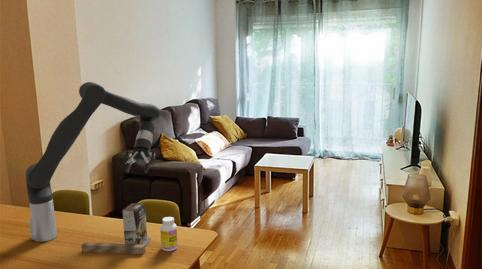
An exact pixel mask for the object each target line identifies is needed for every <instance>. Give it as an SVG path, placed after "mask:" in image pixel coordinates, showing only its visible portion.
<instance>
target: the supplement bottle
mask: <svg viewBox="0 0 482 269" xmlns="http://www.w3.org/2000/svg"><path fill="white" fill-rule="evenodd" d="M159 229H160V246H161V250H162V251H165V252H172V251H173V252H174V250H177V248H178V226H177V224H176V223H175V218H174V216H165V217H162V224H161V225H160V228H159Z"/></svg>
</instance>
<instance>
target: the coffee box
mask: <svg viewBox="0 0 482 269" xmlns="http://www.w3.org/2000/svg"><path fill="white" fill-rule="evenodd" d="M146 212H147V211H146V203H141V202H137V203H136V202H135V203H134V202H131V203H130V204H129V205H127V206H126V207H125V208H123V209H122V220H123V221H122V223H123V237H124V244H139V245H142V243H143V242H144V241H145V240H146V239H147V238H148V229H147V228H148V227H147V226H148V225H147V215H146V214H147V213H146Z"/></svg>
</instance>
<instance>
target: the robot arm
mask: <svg viewBox="0 0 482 269" xmlns="http://www.w3.org/2000/svg"><path fill="white" fill-rule="evenodd" d="M78 94H79V97H80V98H81V100H80V102H79V103H78V104H77V106H76V108H75V109H73V111H71V112H70V113H69V114H68V115H67V116H66V117H64V119H62V120H61V121H60V122H59V124H58V126H56V128H55V130H54V132H53V133H52V135H51V136H50V139H49V141H48V143H47V145H46V146H47V147H46V148H45V151H44V153H43V155H42V156H41V158H40V159H39V161H38V162H37V163H33V164H31V165H30V166H29V167H27V169H26V171H25V182H26V189H27V190H26V191H27V196H28V203H29V212H30V218H29V221H28V222H29V230H30V238H31V240H32V241H35V242H37V243H40V242H41V243H43V242H49V241H51V240H53V239H55V238H56V237H57V235H58V234H57V232H58V231H57V225H56V216H55V205H54V197H53V191H52V185H51V180H52V178H53V176H54V174H55V172H56V170H57V168H58V167H59V164H60V162H61V161H62V160H63V159H64V158H65V156H66V155H67V153H68V152H69V150H70V149H71V148H72V147H73V145H74V143H75V142H76V140H77V139H78V137H79V136H80V134H81V133H82V131H83V129H84V127H85V126H86V124H87V123H88V121H89V120H90V118H91V117H92V116H93V114H94V113H95V112H96V111H97V109H98V108H99V106H101V105H105V106H108V107H111V108H113V109H115V110H118V111H119V112H122V113H124V114H127V115H130V116H133V117H139V129H138V132H137V135H136V136H135V137H136V138H135V143H134V145H133V150H132V151H129V150H126V151H125V154H124V157H123V160H122V161H123V163H124V164H125V171H126V173H130V169H131V166H132V164H134V163H136V162H146V163H145V165H144V169H143V172H144V173H146V174H147V173H149V169H150V166H151V165H153V166H154V165H155V162H156V155H157V154H156V153H155V151H154V150H152V151H151V147H152V144H153V137H154V132H155V124H154V123H152V122H154V121H156V120H157V119H159V118H160V116H161V109H160V108H159V107H158V106H156V105H154V104H152V103H151V104H150V103H146V102H139V101H136V100H133V99H131V98H128V97H125V96H121V95H119V94H115V93H113V92H110V91H108V90H106V89H105V88H104V86H103V85H101V84H99V83H97V82H92V81H87V82H85V83H82V84H81V86H79V89H78ZM148 157H150V160H149V159H148Z"/></svg>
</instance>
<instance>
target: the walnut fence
mask: <svg viewBox="0 0 482 269" xmlns="http://www.w3.org/2000/svg"><path fill="white" fill-rule="evenodd" d="M81 252H82V253H103V254H123V255H124V254H127V255H144V254H145V253H146V247H145V245H139V244H125V243H111V242H85V241H83V243H82V244H81Z"/></svg>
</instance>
